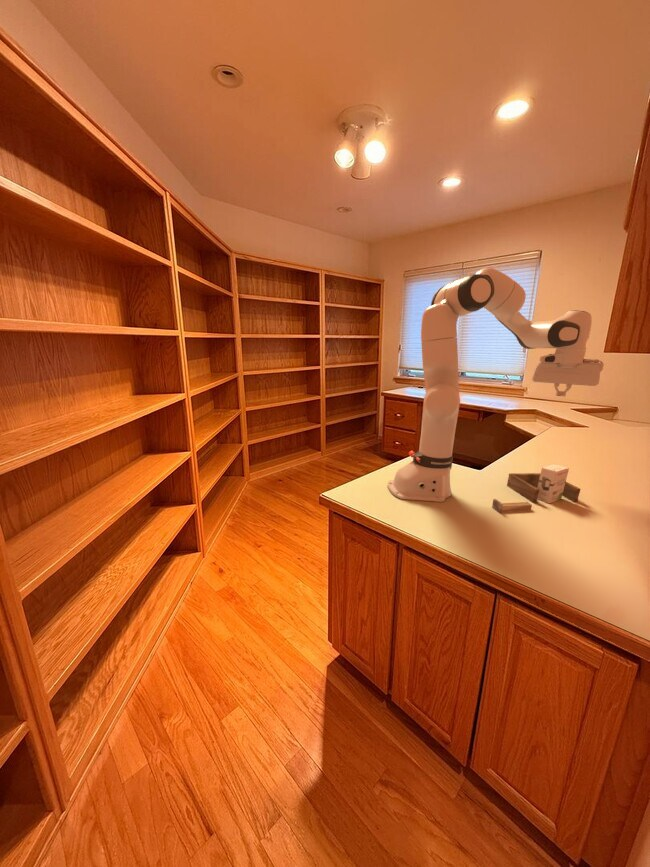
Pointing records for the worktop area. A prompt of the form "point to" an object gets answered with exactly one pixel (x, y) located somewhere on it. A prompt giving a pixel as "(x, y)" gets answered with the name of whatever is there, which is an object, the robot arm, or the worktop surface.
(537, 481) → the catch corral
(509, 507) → the beech bar
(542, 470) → the ink box
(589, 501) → the worktop surface
